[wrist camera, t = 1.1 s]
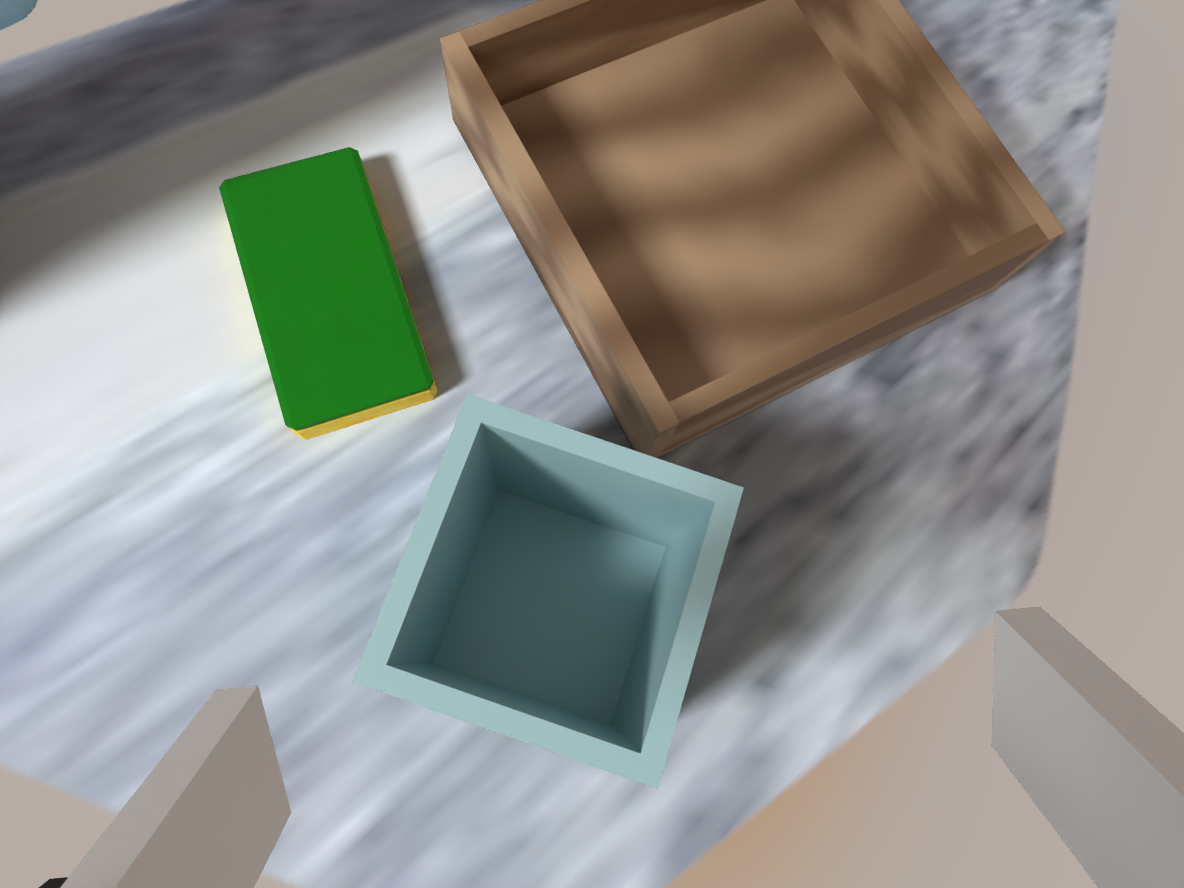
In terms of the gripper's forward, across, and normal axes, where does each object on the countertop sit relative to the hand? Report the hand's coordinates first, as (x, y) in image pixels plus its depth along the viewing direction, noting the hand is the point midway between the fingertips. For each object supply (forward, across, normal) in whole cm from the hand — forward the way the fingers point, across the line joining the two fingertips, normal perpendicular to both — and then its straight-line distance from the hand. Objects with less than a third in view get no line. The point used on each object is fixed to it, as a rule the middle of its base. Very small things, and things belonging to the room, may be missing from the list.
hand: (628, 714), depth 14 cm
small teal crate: (+22, -4, -9) cm, 24 cm away
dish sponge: (+30, -13, +6) cm, 33 cm away
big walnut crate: (+33, +8, +8) cm, 35 cm away
